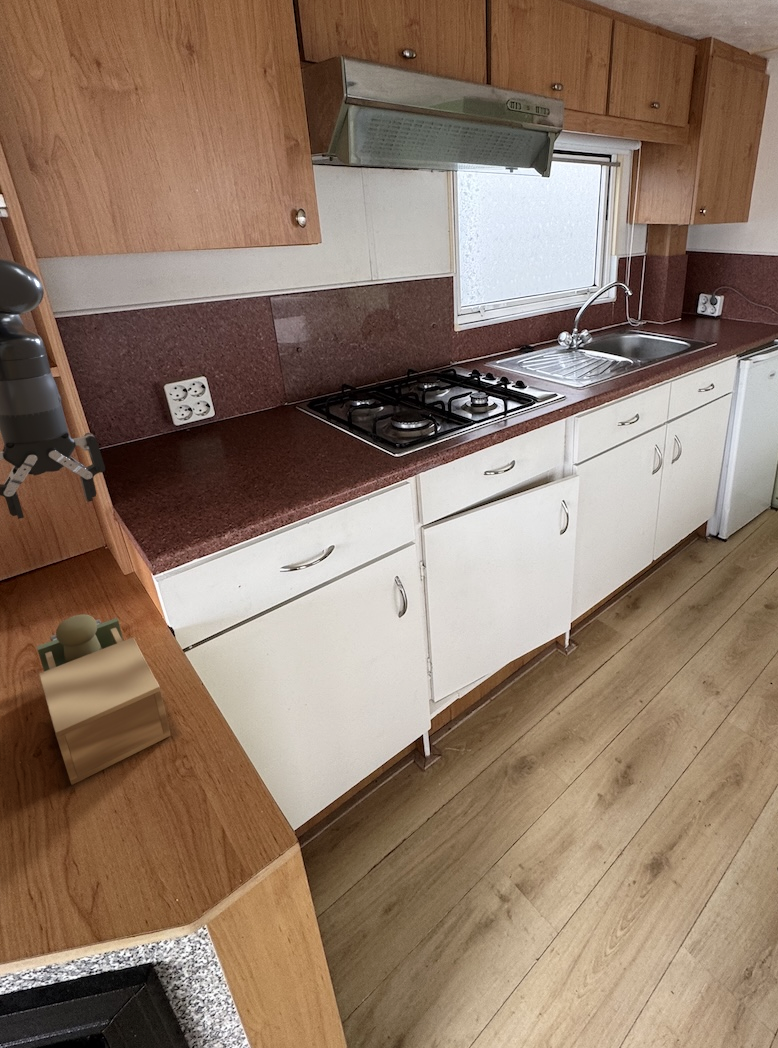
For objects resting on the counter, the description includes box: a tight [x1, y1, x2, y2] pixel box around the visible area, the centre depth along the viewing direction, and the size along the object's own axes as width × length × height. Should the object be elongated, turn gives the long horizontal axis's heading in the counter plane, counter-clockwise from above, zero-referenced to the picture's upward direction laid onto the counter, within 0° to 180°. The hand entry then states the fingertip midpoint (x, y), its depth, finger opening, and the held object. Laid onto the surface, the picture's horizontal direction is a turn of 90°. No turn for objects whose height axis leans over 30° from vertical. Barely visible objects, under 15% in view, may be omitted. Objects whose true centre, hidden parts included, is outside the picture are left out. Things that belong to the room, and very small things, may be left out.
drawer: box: [36, 617, 124, 672], centre depth 93 cm, size 19×11×7 cm, turn 44°
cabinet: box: [38, 637, 171, 786], centre depth 85 cm, size 15×12×9 cm
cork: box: [55, 613, 102, 663], centre depth 91 cm, size 6×6×11 cm
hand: (55, 508), depth 88 cm, fingers open, 8 cm apart
